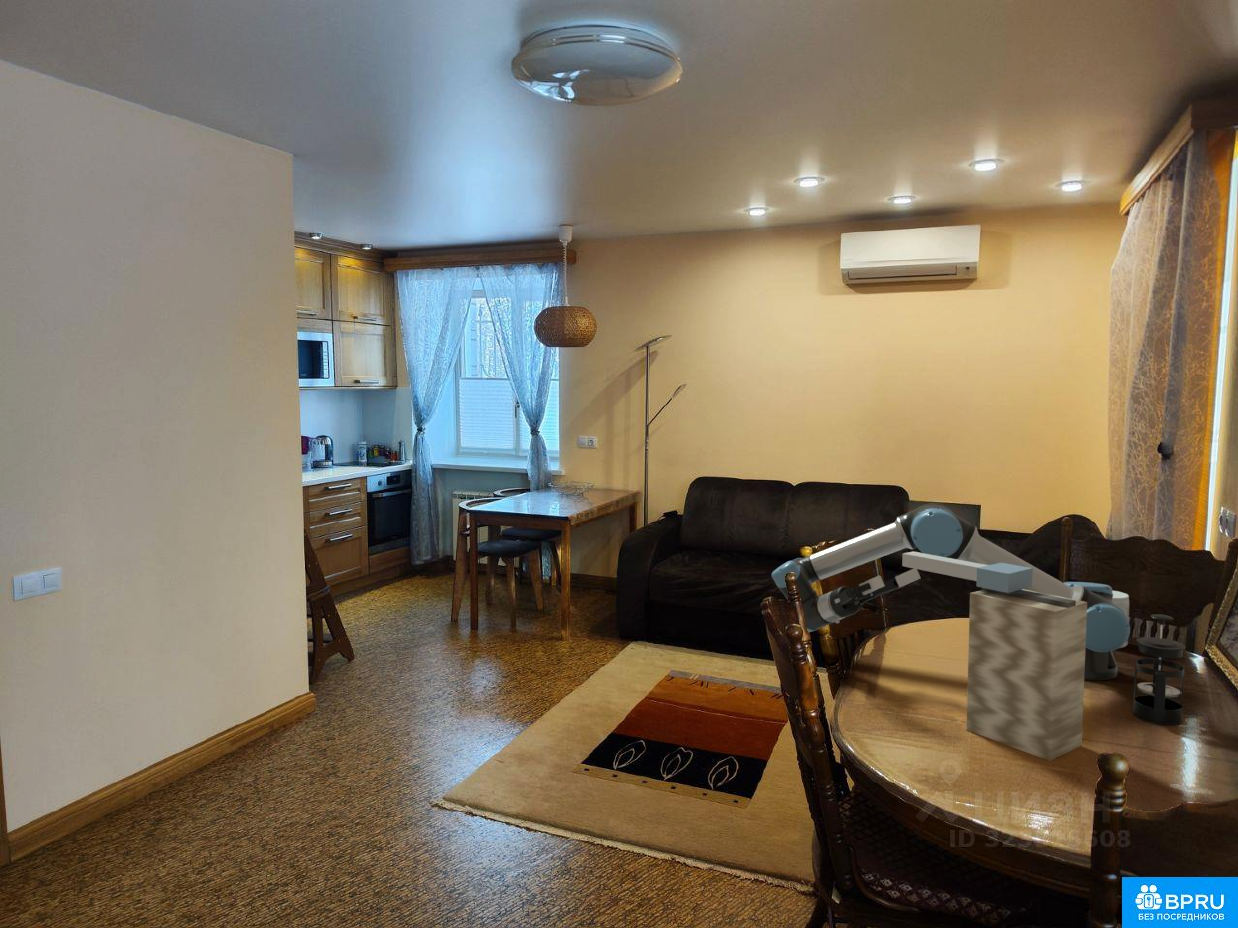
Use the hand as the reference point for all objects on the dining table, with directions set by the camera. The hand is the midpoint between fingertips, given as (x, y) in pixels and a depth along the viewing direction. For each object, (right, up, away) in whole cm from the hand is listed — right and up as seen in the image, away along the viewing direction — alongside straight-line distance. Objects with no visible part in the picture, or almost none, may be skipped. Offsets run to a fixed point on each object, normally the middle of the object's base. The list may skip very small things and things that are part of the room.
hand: (900, 576), depth 192 cm
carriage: (+8, +2, -14) cm, 17 cm away
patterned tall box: (+17, -30, -24) cm, 42 cm away
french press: (+52, -29, -15) cm, 61 cm away
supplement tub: (+73, -25, +37) cm, 85 cm away
